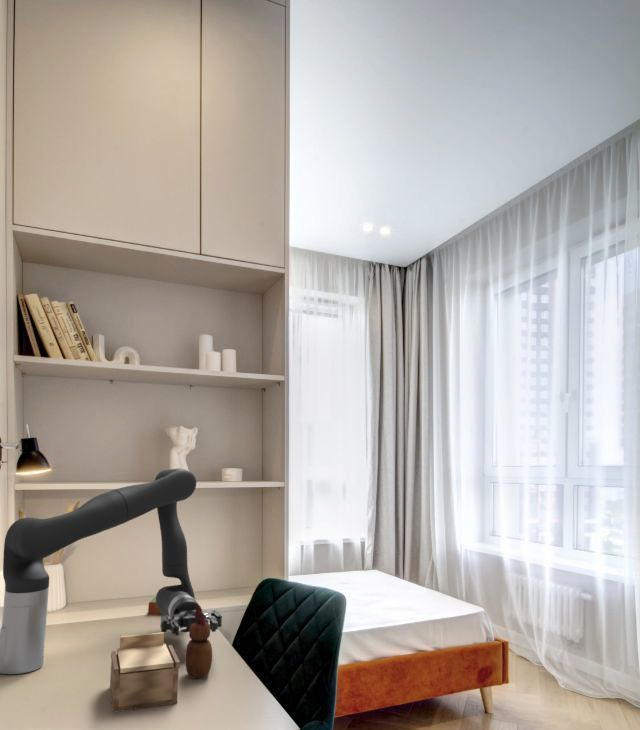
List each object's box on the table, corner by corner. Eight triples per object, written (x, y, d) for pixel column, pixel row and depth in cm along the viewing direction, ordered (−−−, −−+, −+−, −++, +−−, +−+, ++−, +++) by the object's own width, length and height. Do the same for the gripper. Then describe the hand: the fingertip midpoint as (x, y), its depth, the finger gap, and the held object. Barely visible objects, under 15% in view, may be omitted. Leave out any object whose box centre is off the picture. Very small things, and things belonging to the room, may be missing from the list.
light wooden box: (111, 712, 112) (114, 669, 113) (108, 687, 124) (111, 649, 125) (178, 702, 117) (179, 661, 118) (169, 680, 129) (171, 642, 130)
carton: (186, 603, 198) (187, 590, 198) (174, 616, 182) (174, 601, 182) (162, 603, 198) (162, 589, 199) (147, 616, 182) (148, 601, 183)
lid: (120, 673, 114) (121, 655, 114) (116, 652, 126) (117, 636, 126) (173, 666, 117) (174, 649, 118) (165, 647, 129) (165, 631, 130)
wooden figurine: (183, 671, 134) (186, 602, 136) (209, 669, 135) (211, 600, 138) (186, 682, 127) (189, 609, 130) (213, 679, 129) (215, 607, 131)
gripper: (156, 599, 150) (165, 614, 135) (212, 594, 155) (226, 609, 140) (155, 630, 149) (163, 649, 134) (211, 625, 154) (225, 643, 139)
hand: (196, 629), depth 137 cm, fingers open, 8 cm apart
